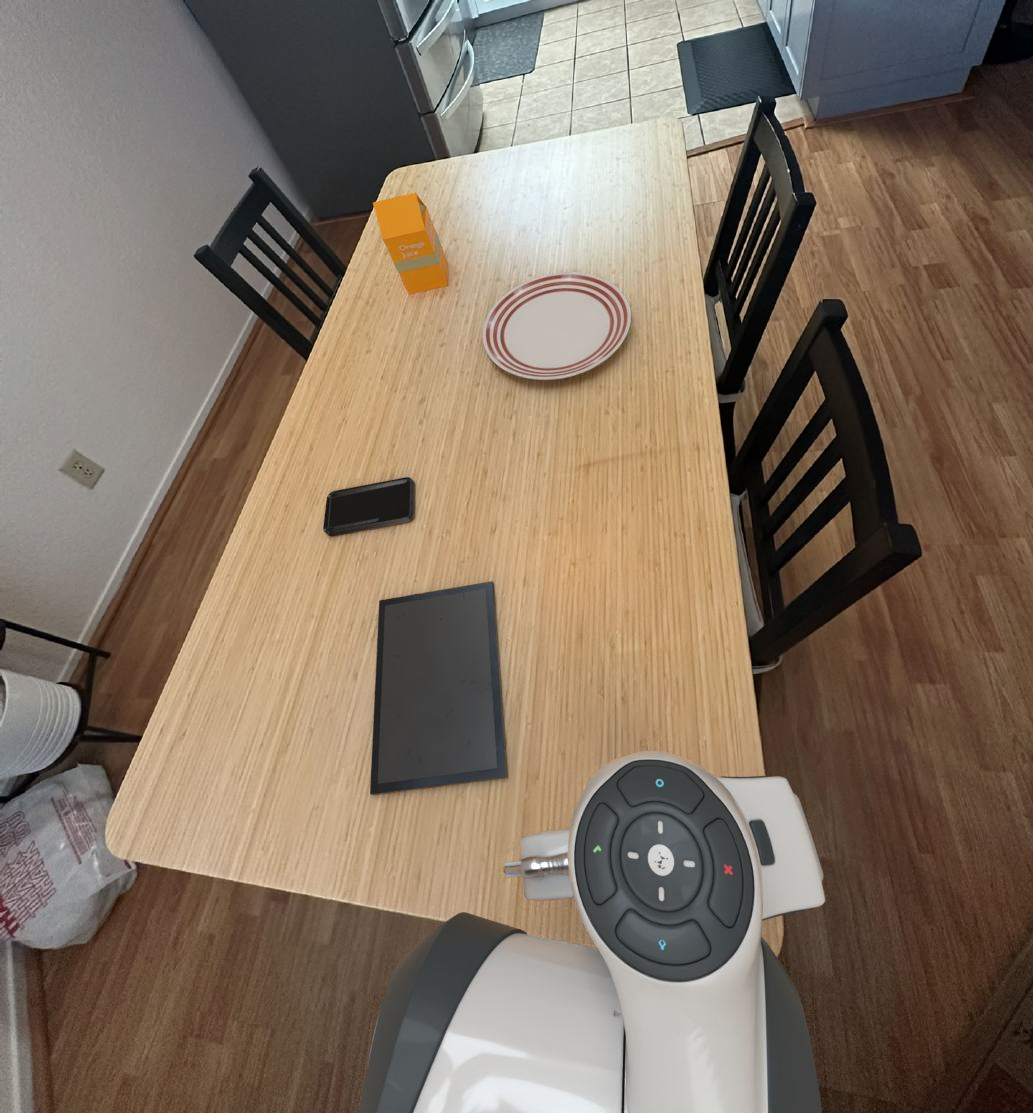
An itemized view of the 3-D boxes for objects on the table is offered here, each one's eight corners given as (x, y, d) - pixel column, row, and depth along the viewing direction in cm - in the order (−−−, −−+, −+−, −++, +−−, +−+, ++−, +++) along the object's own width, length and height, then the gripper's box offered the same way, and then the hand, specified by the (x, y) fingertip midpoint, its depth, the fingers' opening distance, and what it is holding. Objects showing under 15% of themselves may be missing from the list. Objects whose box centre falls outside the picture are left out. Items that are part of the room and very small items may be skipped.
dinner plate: (472, 309, 117) (468, 297, 114) (601, 265, 117) (600, 252, 114) (505, 411, 101) (500, 399, 98) (655, 360, 100) (655, 347, 98)
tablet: (508, 777, 69) (506, 776, 68) (373, 795, 71) (369, 794, 70) (494, 583, 83) (492, 580, 82) (381, 602, 85) (378, 599, 84)
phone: (327, 492, 97) (412, 475, 95) (330, 495, 98) (415, 479, 96) (322, 535, 92) (412, 518, 91) (325, 538, 93) (414, 522, 92)
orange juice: (410, 271, 128) (373, 191, 112) (448, 262, 127) (417, 180, 111) (408, 295, 124) (370, 215, 108) (448, 286, 123) (415, 204, 107)
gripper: (500, 937, 35) (539, 914, 46) (856, 902, 32) (807, 886, 43) (493, 811, 38) (531, 817, 49) (811, 772, 36) (777, 787, 47)
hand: (662, 849), depth 46 cm, fingers closed
